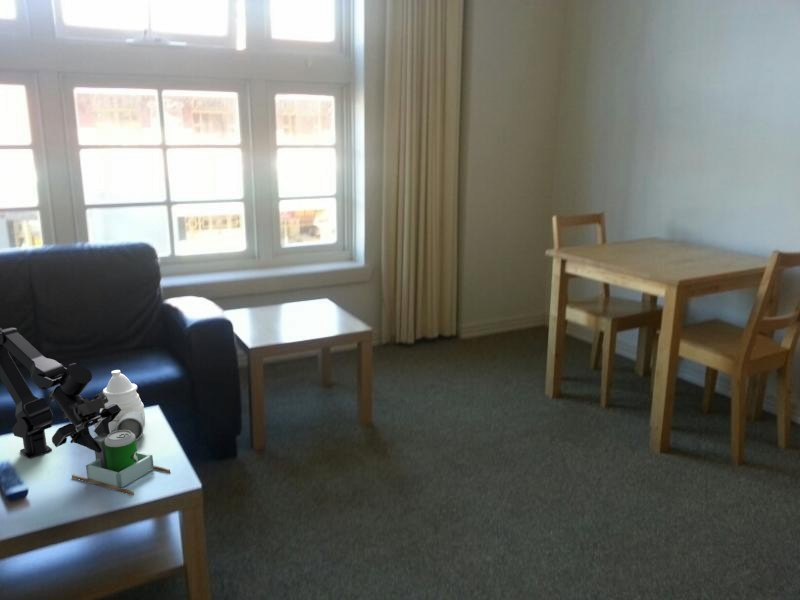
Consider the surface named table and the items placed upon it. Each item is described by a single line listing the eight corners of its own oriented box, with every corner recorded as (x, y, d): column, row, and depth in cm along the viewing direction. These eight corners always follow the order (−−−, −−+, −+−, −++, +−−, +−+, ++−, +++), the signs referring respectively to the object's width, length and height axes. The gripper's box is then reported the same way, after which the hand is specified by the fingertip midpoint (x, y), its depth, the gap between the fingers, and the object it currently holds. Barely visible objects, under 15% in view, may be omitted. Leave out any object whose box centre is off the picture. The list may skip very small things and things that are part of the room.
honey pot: (140, 430, 205) (134, 375, 200) (96, 433, 203) (89, 377, 198) (148, 413, 217) (143, 361, 213) (107, 416, 215) (101, 363, 211)
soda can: (133, 483, 173) (128, 440, 170) (104, 483, 173) (99, 441, 170) (143, 469, 181) (139, 428, 178) (115, 469, 180) (110, 428, 178)
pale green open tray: (84, 478, 175) (79, 444, 173) (119, 459, 185) (115, 427, 183) (120, 488, 170) (115, 454, 168) (153, 468, 180) (150, 435, 178)
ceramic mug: (146, 429, 205) (143, 406, 203) (144, 440, 198) (141, 416, 196) (109, 434, 202) (105, 411, 200) (106, 446, 195) (102, 422, 193)
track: (72, 477, 176) (71, 475, 176) (111, 456, 188) (111, 454, 187) (132, 495, 167) (132, 492, 167) (170, 472, 179) (170, 469, 179)
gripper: (53, 399, 168) (89, 447, 166) (112, 376, 184) (146, 419, 182) (36, 423, 173) (71, 470, 171) (95, 398, 189) (128, 440, 187)
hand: (106, 448), depth 178 cm, fingers closed on pale green open tray, 3 cm apart
